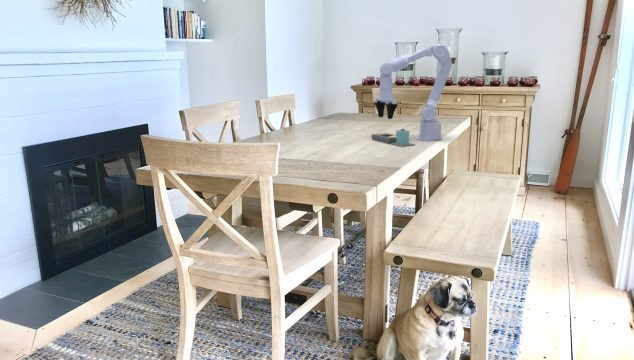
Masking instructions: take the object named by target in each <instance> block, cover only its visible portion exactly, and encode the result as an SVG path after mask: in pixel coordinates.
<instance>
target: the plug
mask: <svg viewBox="0 0 634 360" xmlns="http://www.w3.org/2000/svg"><path fill="white" fill-rule="evenodd" d="M395 133H396V134H395V135H396V144H399V145H406V144H409V143H410V130H408V129H405V128H401V129H399V130H396V132H395Z"/></svg>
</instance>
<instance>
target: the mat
mask: <svg viewBox="0 0 634 360" xmlns="http://www.w3.org/2000/svg"><path fill="white" fill-rule="evenodd" d="M389 145H391V146H396V147H399V148H403V147H404V148H405V147H413V146H416V144H415V143H411V142H409V144H406V145H399V144H396V143H390V144H389Z"/></svg>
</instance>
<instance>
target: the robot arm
mask: <svg viewBox="0 0 634 360" xmlns="http://www.w3.org/2000/svg"><path fill="white" fill-rule="evenodd" d="M424 57H434V58H435V59H436V60H437V62H438V64H439V66H440V68H439V71H438V73H437V75H436V78H435V81H434V84H433V86H432V89H431V91H430V94H429V96H428V99H427V102H426V104H425V106H423V107H422V109H421V111H420V112H421V117H422V118H421V119H420V121H419V123H420V124H419V126H420V129H419V137H416V138H415V139H416V140H420V141H423V142H431V141H439V140H440V141H441V140H442V139H443V138H442V124H441V122H440V120H437V119H436V117H437V112H436V110H437V107H438V103H439V101H440V98H441V95H442V93H443V91H444V87H445V85H446V82H447V80H448V77H449V75H450V72H451V70H452V67H453V64H452V60H451V54H450V51H449V49H448V47H447V46H446V45H445V44H443V43H438V44H435V45H431V46H427V47H424V48H422V49H420V50H418V51H416V52H414V53H412V54H410V55H407V56H405V55H398V56H397V57H396V58H393V59H392V60H391V59H389V60H387V62H384V63H383V64H381V65H380V68H379V71H380V75H379V77H380V79H379V97H377V96H376V97H375V102H374V104H373V105H374V106H375V108H376V111H377V115H378V118H384V116H385V115H384V114H385V113H384V112H385V108H386V113H387V114H386V115H387V120H392V119H393V117H394V114H395V111H396V108H397V107H398V104H397V102H398V101H397V99H395V98H393V77H392V75H393V74H392V73H397V72H399V71H401V70H403V69H405V68H406V69H407V68H408V66H409V64H410V63H412V62H415V61H417V60H420V59H421V58H422V59H423V58H424Z"/></svg>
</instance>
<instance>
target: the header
mask: <svg viewBox="0 0 634 360" xmlns="http://www.w3.org/2000/svg"><path fill="white" fill-rule="evenodd" d="M371 140H373V141H377V142H380V143H384V144H387V145H388V144H389V145H391V144H390V143H396V134H392V133H388V132H379V133H372V134H371Z"/></svg>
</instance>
